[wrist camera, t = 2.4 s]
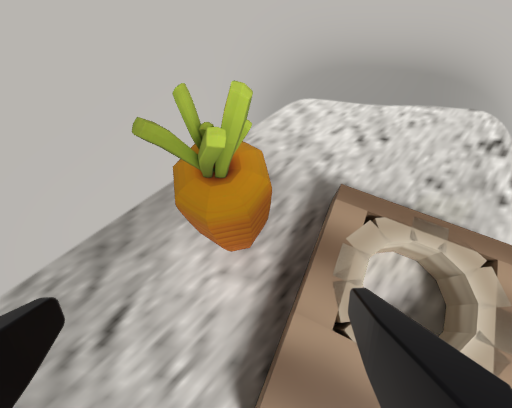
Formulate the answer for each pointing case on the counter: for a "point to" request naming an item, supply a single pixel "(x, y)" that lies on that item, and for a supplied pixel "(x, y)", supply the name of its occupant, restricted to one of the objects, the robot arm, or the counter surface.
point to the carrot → (217, 170)
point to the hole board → (352, 275)
